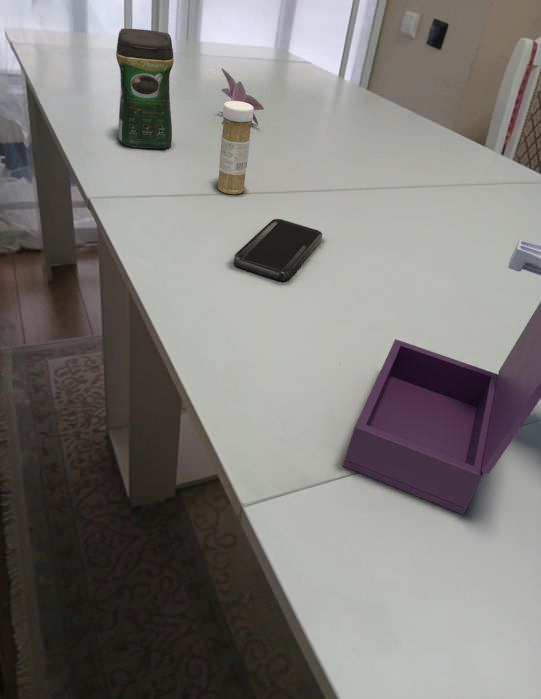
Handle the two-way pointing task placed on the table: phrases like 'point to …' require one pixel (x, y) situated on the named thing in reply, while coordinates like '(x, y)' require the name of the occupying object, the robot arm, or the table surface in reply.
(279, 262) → the phone
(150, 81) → the coffee jar
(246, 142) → the sprinkles bottle
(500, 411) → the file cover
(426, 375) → the box
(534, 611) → the table surface
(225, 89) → the lily
